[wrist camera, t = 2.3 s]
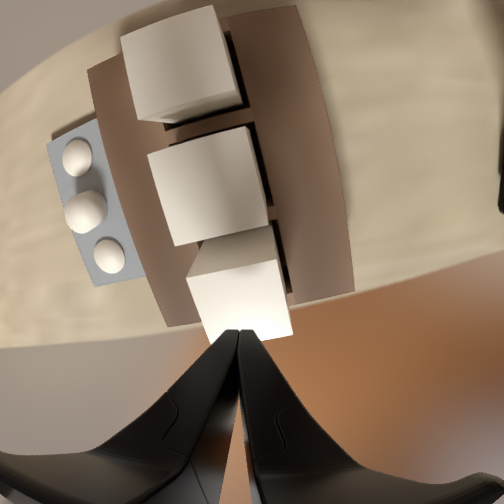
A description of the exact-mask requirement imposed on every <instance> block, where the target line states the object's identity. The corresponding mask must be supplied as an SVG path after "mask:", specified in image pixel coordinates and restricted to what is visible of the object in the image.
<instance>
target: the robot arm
mask: <svg viewBox="0 0 504 504" xmlns="http://www.w3.org/2000/svg"><path fill="white" fill-rule="evenodd" d="M499 211H500V212H501V213H502V214H504V166H503V178H502V187H501V196H500V203H499ZM239 398H240V409H241V418H242V427H243V436H244V444H245V451H246V461H247V468H248V476H249V484H250V492H251V499H252V504H492V503H494V502H495V501H496V500H497V499H499V498H500V497H501V496H502V495H503V494H504V480H502V479H501V478H499V477H497V476H494V475H490V474H486V473H483V472H478V473H475V474H472V475H469V476H467V477H464V478H462V479H460V480H457V481H454V482H451V483H445V484H427V483H421V482H417V481H412V480H408V479H404V478H400V477H396V476H392V475H389V474H385V473H381V472H378V471H374V470H371V469H369V468H366V467H364V466H363V465H361V464H359V463H358V462H356V461H355V460H354V459H353V458H352V457H351V456H350V455H348V454H347V453H346V452H345V451H344V450H343V449H342V448H341V447H340V446H339V445H338V444H337V443H336V442H335V441H334V440H333V438H331V436H330V435H329V434H328V433H327V432H326V431H325V430H324V429H323V428H322V427H321V426H320V425H319V424H318V423H317V422H316V420H315V419H314V418H313V417H312V416H311V415H310V413H309V412H308V411H307V409H306V408H305V407H304V405H303V404H302V402H301V401H300V399H299V398H298V397H297V396H296V394H295V392H294V391H293V389H292V388H291V386H290V385H289V383H288V382H287V380H286V379H285V377H284V376H283V374H282V373H281V372H280V370H279V368H278V367H277V365H276V364H275V362H274V361H273V359H272V358H271V356H270V354H269V353H268V351H267V350H266V348H265V347H264V345H263V344H262V342H261V341H260V339H259V337H258V336H257V334H256V333H255V331H254V330H253V329H241V330H240V331H239V330H238V329H226V330H225V331H224V332H223V333H222V334H221V335H220V336H219V337H218V338H217V339H216V340H215V341H214V342H213V343H212V344H211V346H210V347H209V348H208V349H207V350H206V351H205V352H204V353H203V354H202V355H201V356H200V357H199V358H198V359H197V360H196V361H195V362H194V363H193V365H191V366H190V368H189V369H188V370H187V371H186V372H185V373H184V374H183V375H182V376H181V377H180V378H179V379H178V380H177V381H176V382H175V383H174V384H173V385H172V386H171V387H170V388H169V389H168V390H167V392H165V393H164V394H163V395H162V396H161V397H160V398H159V399H158V400H157V401H156V402H155V403H154V404H153V405H152V406H151V407H150V408H148V409H147V410H146V411H145V412H144V413H143V414H142V415H140V416H139V417H138V418H136V420H134V421H133V422H131V423H130V424H129V425H127V426H126V427H125V428H123V429H122V430H121V431H119V432H118V433H117V434H115V435H114V436H113V437H111V438H110V439H109V440H107V441H106V442H104V443H103V444H101V445H100V446H98V447H96V448H94V449H92V450H89V451H86V452H80V453H70V454H56V455H55V454H54V455H13V454H8V453H4V452H2V451H0V494H1V495H3V496H4V497H5V499H4V501H3V504H219V499H220V494H221V489H222V484H223V479H224V474H225V469H226V464H227V458H228V453H229V448H230V442H231V438H232V432H233V427H234V422H235V416H236V411H237V405H238V399H239Z"/></svg>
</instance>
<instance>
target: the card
mask: <svg viewBox="0 0 504 504" xmlns="http://www.w3.org/2000/svg"><path fill="white" fill-rule="evenodd" d="M46 146H47V150H48V154H49V158H50V162H51V166H52V169H53V173H54V177H55V180H56V184H57V187H58V191H59V194H60V197H61V200H62V203H63V207H64V214H65V219H66V222H67V224H68V225H69V227H70V228H71V230H72V233H73V235H74V238H75V241H76V243H77V246H78V249H79V251H80V254H81V256H82V259H83V261H84V264H85V266H86V269H87V271H88V273H89V276H90V278H91V280H92V283H93V285H94V287H97V286H102V285H107V284H112V283H116V282H121V281H126V280H130V279H135V278H140V277H144V276H146V274H145V272H144V269H143V266H142V264H141V261H140V259H139V256H138V253H137V251H136V248H135V245H134V242H133V239H132V237H131V234H130V231H129V228H128V225H127V222H126V219H125V216H124V213H123V210H122V207H121V204H120V201H119V198H118V194H117V191H116V188H115V185H114V181H113V178H112V174H111V171H110V167H109V164H108V160H107V157H106V153H105V149H104V145H103V141H102V138H101V134H100V129H99V125H98V121H97V118H96V119H93V120H91V121H89V122H87V123H85V124H83V125H81V126H79V127H77V128H75V129H73V130H71V131H69V132H67V133H66V134H64V135H62V136H60V137H58V138H56V139H55V140H53V141H51V142H49V143H47V144H46Z"/></svg>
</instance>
